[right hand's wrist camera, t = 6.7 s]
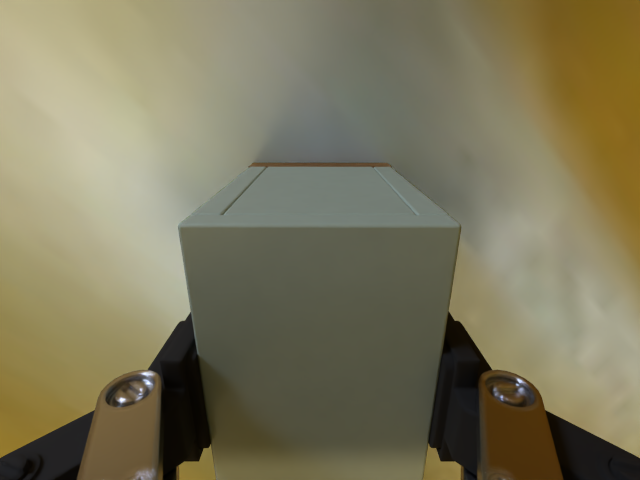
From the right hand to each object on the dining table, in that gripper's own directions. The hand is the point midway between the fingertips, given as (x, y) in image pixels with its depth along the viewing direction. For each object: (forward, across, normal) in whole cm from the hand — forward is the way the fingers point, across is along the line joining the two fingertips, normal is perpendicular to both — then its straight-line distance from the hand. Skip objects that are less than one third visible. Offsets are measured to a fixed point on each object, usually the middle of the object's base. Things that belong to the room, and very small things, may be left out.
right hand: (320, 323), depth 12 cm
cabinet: (+5, 0, -6) cm, 8 cm away
